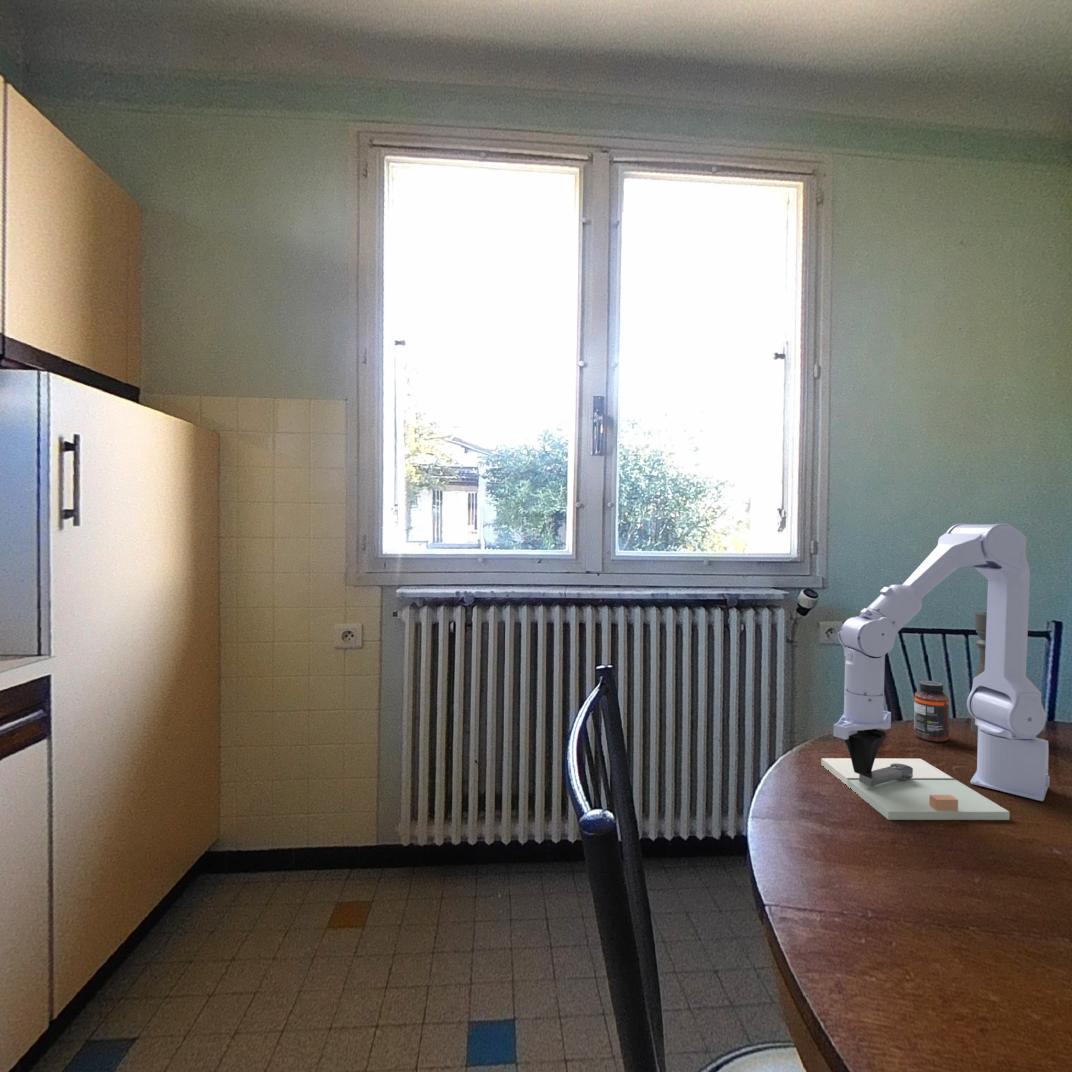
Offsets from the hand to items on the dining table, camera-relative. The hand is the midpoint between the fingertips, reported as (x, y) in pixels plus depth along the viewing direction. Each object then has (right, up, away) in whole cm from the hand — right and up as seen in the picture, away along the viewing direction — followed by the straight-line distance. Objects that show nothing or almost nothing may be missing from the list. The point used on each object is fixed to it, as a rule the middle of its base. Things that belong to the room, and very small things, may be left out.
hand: (862, 773), depth 100 cm
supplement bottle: (+27, -3, +25) cm, 37 cm away
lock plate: (+7, -3, 0) cm, 8 cm away
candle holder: (+41, -3, +28) cm, 50 cm away
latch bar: (+4, -1, -1) cm, 4 cm away
